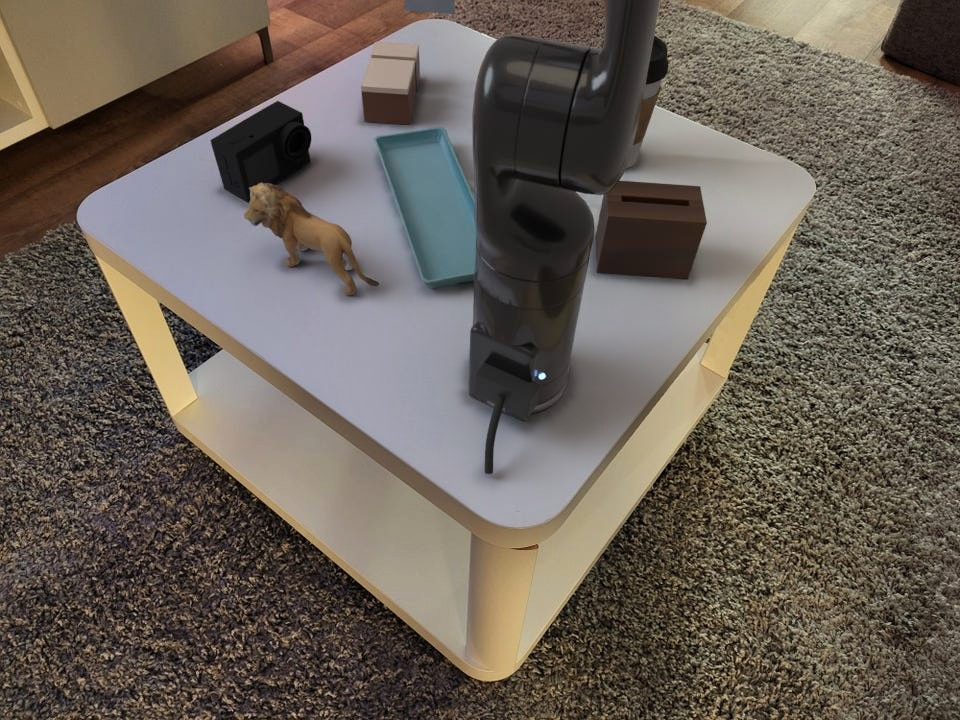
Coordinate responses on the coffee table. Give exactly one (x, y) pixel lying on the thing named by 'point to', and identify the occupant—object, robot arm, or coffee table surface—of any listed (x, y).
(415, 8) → the knife
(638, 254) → the knife block
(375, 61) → the brown lidded box
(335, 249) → the lion figurine
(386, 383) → the coffee table surface
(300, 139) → the digital camera
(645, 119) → the coffee cup
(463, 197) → the teal serving tray
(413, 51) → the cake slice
